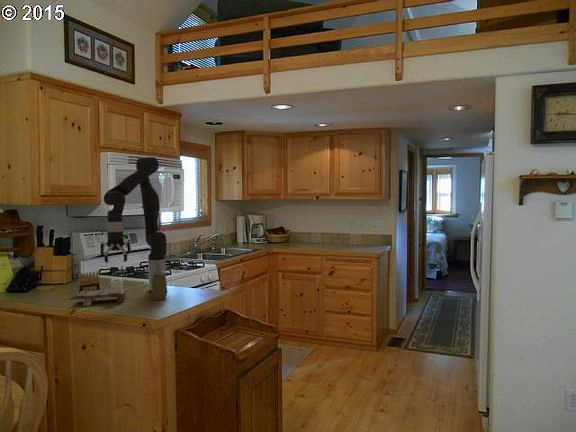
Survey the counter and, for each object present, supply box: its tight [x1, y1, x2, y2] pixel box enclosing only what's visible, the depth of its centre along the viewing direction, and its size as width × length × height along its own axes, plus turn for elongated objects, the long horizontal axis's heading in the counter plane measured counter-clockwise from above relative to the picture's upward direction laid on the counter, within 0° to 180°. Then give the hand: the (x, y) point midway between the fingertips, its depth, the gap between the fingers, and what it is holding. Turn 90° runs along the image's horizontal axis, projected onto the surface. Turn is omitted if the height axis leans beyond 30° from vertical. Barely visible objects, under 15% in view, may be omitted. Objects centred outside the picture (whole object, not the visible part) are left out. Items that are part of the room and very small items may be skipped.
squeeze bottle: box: [150, 264, 168, 301], centre depth 224 cm, size 8×8×18 cm
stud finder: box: [109, 277, 124, 294], centre depth 222 cm, size 5×9×6 cm, turn 15°
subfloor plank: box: [75, 288, 127, 307], centre depth 221 cm, size 22×16×5 cm
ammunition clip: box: [78, 270, 101, 294], centre depth 239 cm, size 11×2×12 cm, turn 129°
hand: (116, 262), depth 222 cm, fingers open, 8 cm apart
